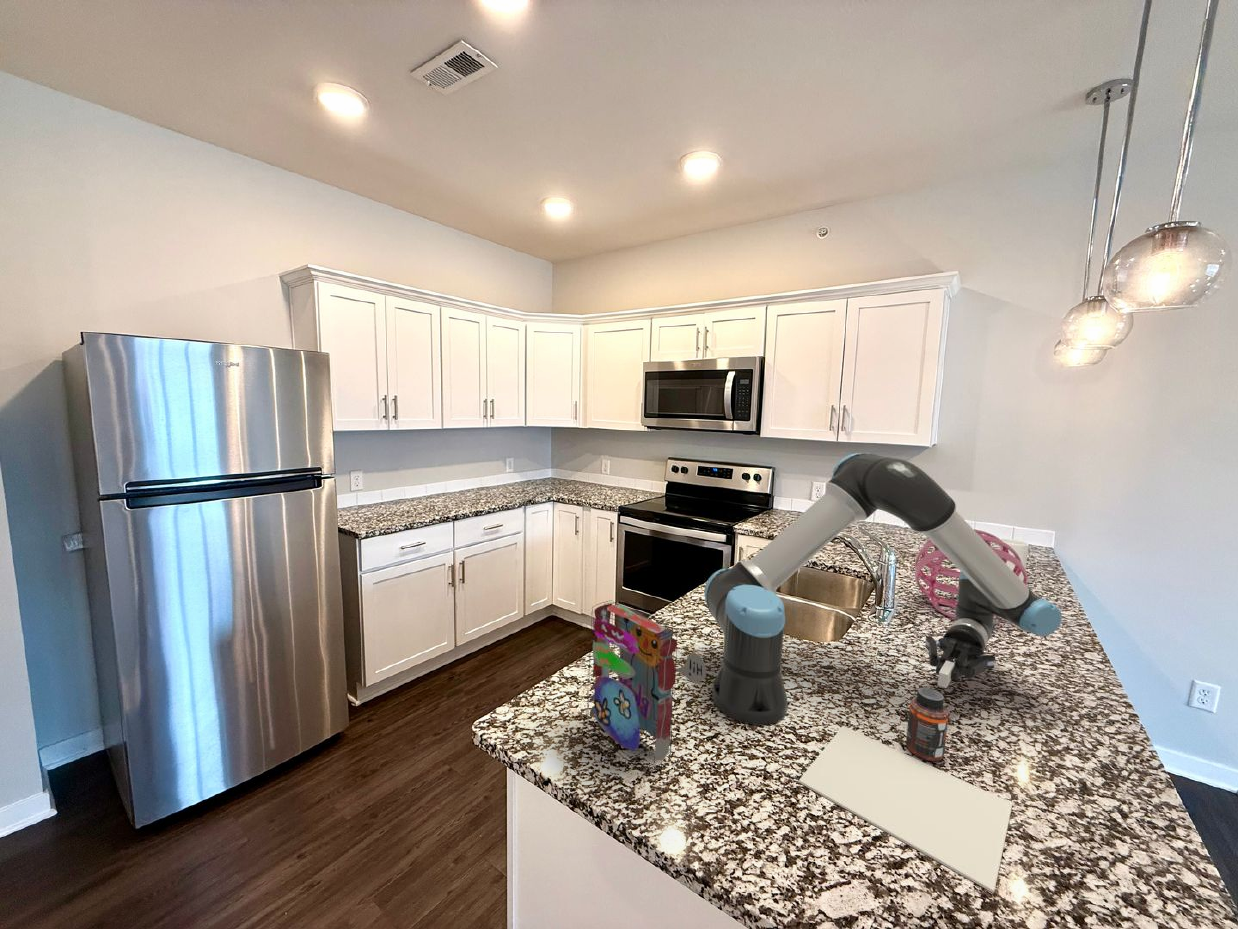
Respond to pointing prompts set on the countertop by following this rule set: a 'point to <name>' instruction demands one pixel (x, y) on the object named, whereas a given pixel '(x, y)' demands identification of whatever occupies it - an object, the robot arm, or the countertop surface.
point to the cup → (1020, 549)
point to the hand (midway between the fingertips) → (942, 680)
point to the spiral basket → (938, 569)
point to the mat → (914, 803)
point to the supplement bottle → (927, 725)
